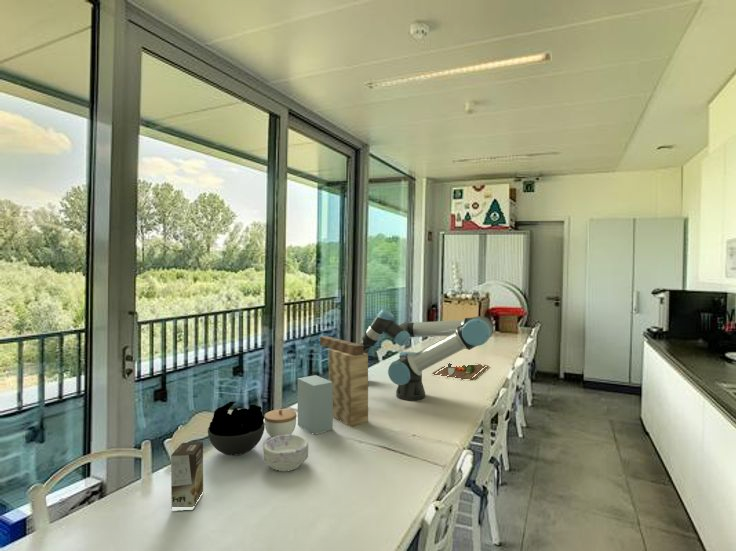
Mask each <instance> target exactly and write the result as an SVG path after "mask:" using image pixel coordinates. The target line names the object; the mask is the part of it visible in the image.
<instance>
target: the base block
mask: <svg viewBox="0 0 736 551" xmlns="http://www.w3.org/2000/svg"><path fill="white" fill-rule="evenodd" d="M296 380H297V425H298V426H299V425H300V426H299V427H301V426H302V427H301V428H303V429H304V428H305V429H304V430H306V431H307V430H308V431H307V432H309V431H310V432H309V433H310V434H312V433H313V434H312V435H314V434H315V435H317V433H318V434H322V433H325V432H324V431H326V432H328V430H329V431H332V429H333V430H334V428H333V426H334V425H333V424H334V423H333V422H334V417H333V382H331V381H329V379H326V378H325V377H324V378H323V377H321V376H318V375H316V374H314V375H309V376H304V377H299V378H297V379H296ZM321 432H322V433H321Z"/></svg>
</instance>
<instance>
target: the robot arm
mask: <svg viewBox="0 0 736 551" xmlns="http://www.w3.org/2000/svg"><path fill="white" fill-rule="evenodd" d="M394 318H395V316H394V314H393V313H392V312H391V311H389V310H388V309H386V308H382V309H381V310H380V311H379V312H378V314H377V315H376V316H375V318H374V319H373V321H372V322H371V324H370V325H368V326H367V329H366V332H365V333H364V334H363V335H362V337H361V340H362V342H361V343H359V344H360V345H363V353H367V354H369V352H370V350H371V347H375V345H376V344H377V343H378V341H379V340H380V338H381V337H382V335H383V334H385V335H386V336H388V337H389V338H390V340H391V339H392V341H394V343H395V344H397V345H399V347H403V346H405V345H406V343H407V342H408V341H409V340H410V338H420V337H421V338H424V337H444V338H441V339H440V340H438V341H437V342H435V343H432V344H430V345H429V346H427V347H425V348H423V349H422V350H420V351H418V352H415V351H400V352H399V355H398V357H399V358H398V359H396V360H394V361H392V362H391V363H390V365H389V367H388V369H387V373H388V377H389V379H390V381H391V382H392V383H393V384H395V385H397V388H396V391H395V392H396V393H395V396H396V397H397V399H400V400H405V401H420V400H423V399H425V397H426V390H425V387H424V384H423V373H422V372H423V371H424V370H427V369H428V368H430V367H432V366H434V365H436V364H438V363H440V362H441V361H444V360H445V359H447V358H449V357H452V356H453V355H455V354H457V353H459V352H461V351H463V350H468V351H470V350H472V349H474V348H476V347H480V346H483V345H484V344H485V343H487V342H488V341H489V339H491V337H492V336H493V334H494V333H493V332H494V324H493V323H492V321H491V319H489V317H486V316H481V315H477V316H472V317H464V318H463V319H461V320H460V319H459V320H441V321H440V320H438V321H420V322H409V321H406V322H403V323H400V324H398V323H397V322H396V321H395V320H394Z"/></svg>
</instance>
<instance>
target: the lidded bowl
mask: <svg viewBox="0 0 736 551" xmlns="http://www.w3.org/2000/svg"><path fill="white" fill-rule="evenodd" d="M263 417H264V423H265V428H264V429H265V431H266V433H267V434H268V436H269V437H270V438H273V437H276V436H280V435H288V434H291V435H293V433H294V431H295V428H296V424H297V412H296V411H295V410H294V409H293V410H292V409H288V408H278V409H273V410H270V411H268V412H266V413H264V415H263Z"/></svg>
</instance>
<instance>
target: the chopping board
mask: <svg viewBox="0 0 736 551" xmlns="http://www.w3.org/2000/svg"><path fill="white" fill-rule="evenodd" d="M448 363H449V362H448ZM448 363H447V364H448ZM477 364H478V365H468V366H467V367H466V366H465V365H463V366H462V367H460V366H459V367H457V366H456V367H451V365H452V364H450V363H449V364H448V367H446V368H444V367H445V366H444V365H443V366H444V367H443V366H441V367H440V368H438V369H436V370H435V371H433V372H432V373H431V374H434V375H440V374H442V375H441V376H447V375H449V376H447V378H448V377H455V376H456V377H455V378H461V380H460V381H462V380H463V379H470V380H469V381H474V380H473V379H475V378H476V379H478V378H479V377H480V376H481V375H482V374H483V373H484V372H486V371H487V370H488V369H489V368H490V366H489V365H487V364H483V365H484V366H482V365H481V363H477ZM485 366H487V367H485ZM484 367H485V368H484ZM488 367H489V368H488ZM442 368H444V369H443V370H441V371H439V370H440V369H442ZM482 368H484V369H483V370H482V371H481V372H479V371H480V370H481V369H482ZM487 368H488V369H487ZM486 369H487V370H486ZM485 370H486V371H485ZM437 371H439V372H438V373H437V374H435V373H436V372H437ZM478 372H479V373H478ZM482 372H483V373H482ZM477 373H478V374H477ZM481 373H482V374H481ZM475 374H477V375H476V376H475V377H473V376H474V375H475ZM480 374H481V375H480ZM434 375H433V376H434ZM479 375H480V376H479ZM478 376H479V377H478ZM472 377H473V378H472ZM447 378H446V379H447ZM476 379H475V380H476ZM463 381H464V380H463Z"/></svg>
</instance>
